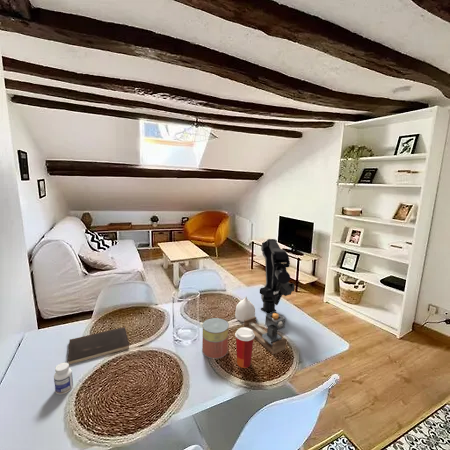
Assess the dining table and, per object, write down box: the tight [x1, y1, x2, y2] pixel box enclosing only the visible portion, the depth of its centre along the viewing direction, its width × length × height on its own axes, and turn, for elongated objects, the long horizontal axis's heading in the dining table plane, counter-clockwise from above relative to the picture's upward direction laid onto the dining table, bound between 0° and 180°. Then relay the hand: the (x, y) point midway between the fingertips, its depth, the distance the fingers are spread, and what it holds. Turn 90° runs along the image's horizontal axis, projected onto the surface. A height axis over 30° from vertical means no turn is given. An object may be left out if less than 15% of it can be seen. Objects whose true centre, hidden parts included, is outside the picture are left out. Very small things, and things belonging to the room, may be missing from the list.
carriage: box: [262, 324, 283, 346], centre depth 115 cm, size 6×6×7 cm
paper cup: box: [234, 326, 255, 369], centre depth 103 cm, size 8×8×14 cm
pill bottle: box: [53, 362, 74, 395], centre depth 88 cm, size 5×5×9 cm
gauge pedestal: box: [264, 311, 286, 331], centre depth 131 cm, size 7×7×5 cm
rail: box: [243, 316, 287, 355], centre depth 120 cm, size 22×7×5 cm, turn 32°
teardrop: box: [234, 296, 256, 323], centre depth 138 cm, size 11×11×12 cm
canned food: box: [201, 317, 230, 360], centre depth 110 cm, size 11×11×12 cm
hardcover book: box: [66, 326, 130, 365], centre depth 112 cm, size 16×23×2 cm
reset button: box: [272, 312, 280, 320], centre depth 130 cm, size 3×3×4 cm
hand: (276, 304), depth 129 cm, fingers closed
